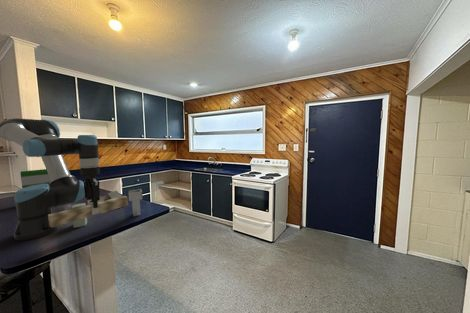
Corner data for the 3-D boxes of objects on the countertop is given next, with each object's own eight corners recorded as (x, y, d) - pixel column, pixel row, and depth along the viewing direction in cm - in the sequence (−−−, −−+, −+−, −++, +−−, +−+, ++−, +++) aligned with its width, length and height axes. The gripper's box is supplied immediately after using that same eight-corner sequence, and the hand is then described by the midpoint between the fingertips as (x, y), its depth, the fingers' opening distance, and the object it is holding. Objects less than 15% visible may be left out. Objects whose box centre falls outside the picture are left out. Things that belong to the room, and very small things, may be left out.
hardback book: (24, 206, 133) (20, 172, 131) (24, 204, 138) (20, 171, 136) (59, 200, 146) (55, 169, 144) (57, 198, 151) (54, 168, 149)
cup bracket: (130, 217, 112) (128, 193, 110) (130, 213, 118) (128, 190, 117) (143, 215, 115) (142, 191, 114) (142, 211, 122) (141, 188, 120)
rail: (51, 227, 82) (50, 216, 82) (49, 225, 84) (47, 214, 84) (127, 205, 109) (127, 196, 108) (124, 204, 111) (124, 195, 110)
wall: (127, 209, 137) (116, 193, 141) (129, 202, 132) (118, 186, 137) (101, 220, 124) (90, 203, 128) (102, 213, 119) (91, 195, 124)
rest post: (73, 227, 100) (71, 207, 99) (75, 224, 105) (73, 204, 104) (85, 225, 103) (83, 205, 102) (87, 222, 107) (85, 202, 106)
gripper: (106, 167, 92) (109, 214, 95) (91, 164, 102) (95, 207, 104) (87, 169, 86) (91, 219, 89) (74, 166, 95) (78, 211, 98)
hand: (93, 212), depth 96 cm, fingers closed on rail, 3 cm apart
